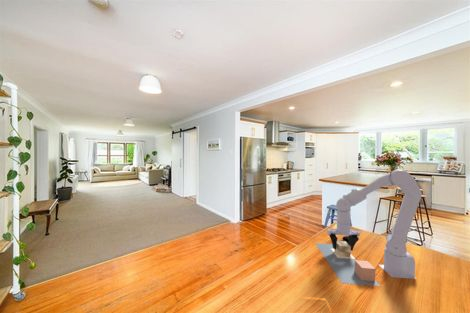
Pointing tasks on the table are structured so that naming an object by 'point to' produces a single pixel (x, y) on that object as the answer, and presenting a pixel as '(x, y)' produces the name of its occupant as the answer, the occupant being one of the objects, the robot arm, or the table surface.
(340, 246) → the maple cube
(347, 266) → the board
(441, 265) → the table surface
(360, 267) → the terracotta cube
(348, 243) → the build plate
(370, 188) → the robot arm
